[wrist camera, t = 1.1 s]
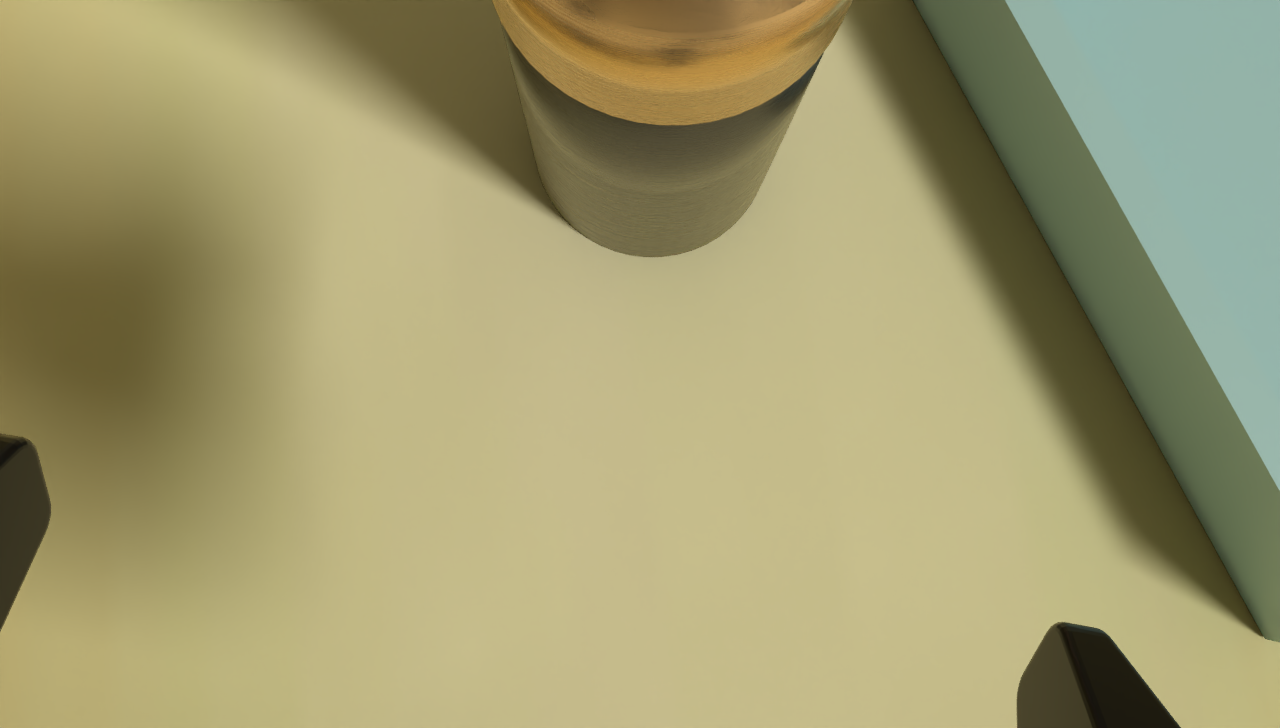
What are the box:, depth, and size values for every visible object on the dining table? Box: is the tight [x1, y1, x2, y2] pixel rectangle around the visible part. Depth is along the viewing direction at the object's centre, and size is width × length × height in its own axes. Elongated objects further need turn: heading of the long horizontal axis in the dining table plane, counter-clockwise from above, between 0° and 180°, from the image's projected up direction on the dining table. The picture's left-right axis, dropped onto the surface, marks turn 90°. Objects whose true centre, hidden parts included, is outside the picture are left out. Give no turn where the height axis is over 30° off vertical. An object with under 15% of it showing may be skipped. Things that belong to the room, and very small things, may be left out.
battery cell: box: [492, 0, 853, 257], centre depth 18 cm, size 5×5×13 cm
